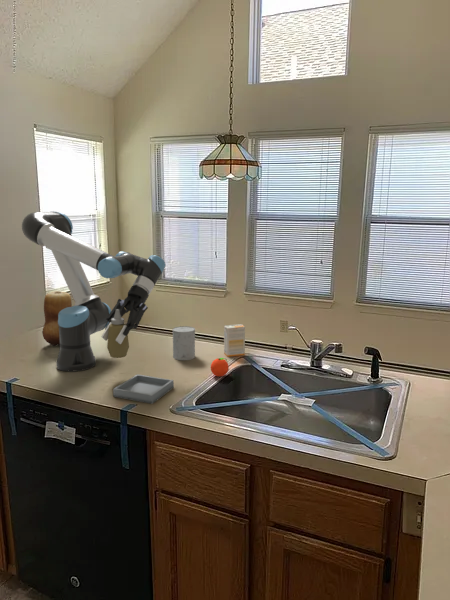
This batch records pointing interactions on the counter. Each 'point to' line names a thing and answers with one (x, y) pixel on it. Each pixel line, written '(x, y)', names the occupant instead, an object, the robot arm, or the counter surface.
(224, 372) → the clementine
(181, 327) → the grey cylinder
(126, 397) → the tray
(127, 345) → the squeeze bottle
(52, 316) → the butternut squash
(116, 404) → the counter surface
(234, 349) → the supplement box
